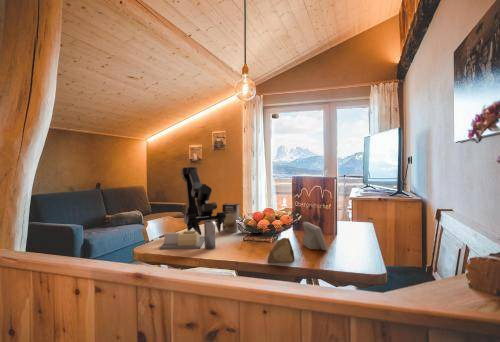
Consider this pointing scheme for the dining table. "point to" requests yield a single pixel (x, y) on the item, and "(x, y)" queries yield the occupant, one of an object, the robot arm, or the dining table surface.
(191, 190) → the robot arm
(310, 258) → the dining table surface
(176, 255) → the dining table surface
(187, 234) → the grey plate with frame
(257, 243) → the dining table surface
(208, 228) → the hinge pin
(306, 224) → the grey angular slab
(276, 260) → the rock
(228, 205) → the coffee box
